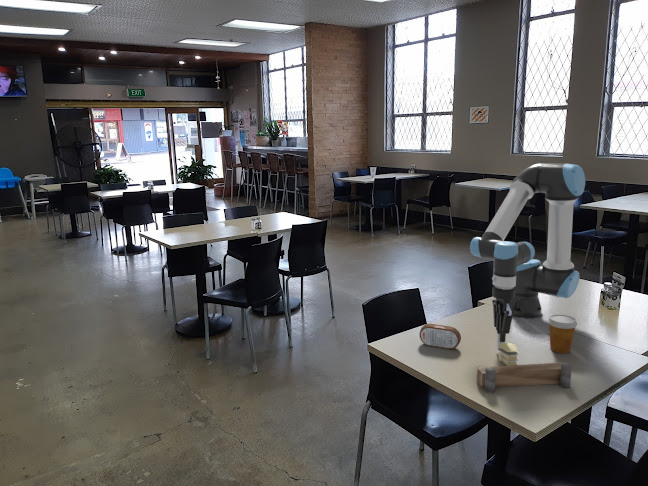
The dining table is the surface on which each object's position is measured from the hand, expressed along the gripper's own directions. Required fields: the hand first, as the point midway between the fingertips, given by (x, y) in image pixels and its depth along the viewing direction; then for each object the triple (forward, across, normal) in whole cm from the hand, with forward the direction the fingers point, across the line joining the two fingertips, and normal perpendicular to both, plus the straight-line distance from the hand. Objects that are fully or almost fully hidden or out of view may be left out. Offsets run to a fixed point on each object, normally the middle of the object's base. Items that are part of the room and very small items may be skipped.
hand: (500, 348), depth 177 cm
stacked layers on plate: (+2, +6, 0) cm, 7 cm away
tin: (+2, -8, -20) cm, 21 cm away
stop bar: (+2, +23, -2) cm, 23 cm away
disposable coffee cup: (+2, 0, +22) cm, 22 cm away
